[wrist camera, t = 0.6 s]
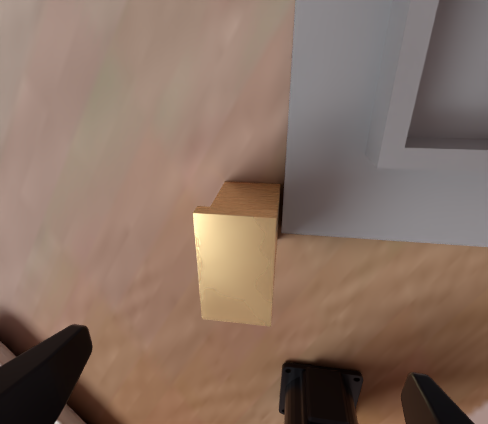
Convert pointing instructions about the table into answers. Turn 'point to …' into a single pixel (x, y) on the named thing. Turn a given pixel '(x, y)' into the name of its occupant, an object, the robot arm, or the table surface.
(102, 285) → the table surface
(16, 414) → the robot arm
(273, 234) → the wooden lipped block
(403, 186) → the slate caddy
